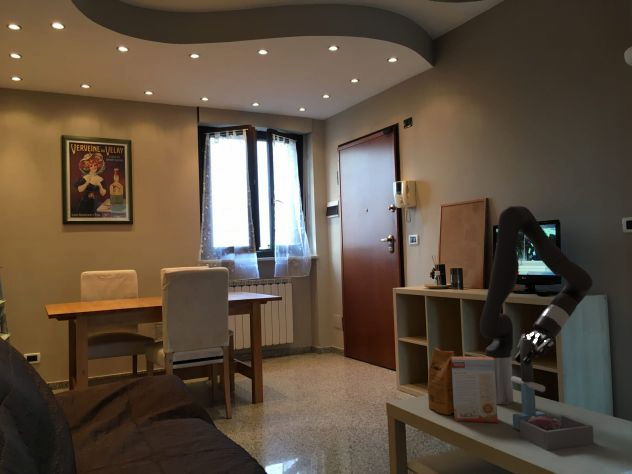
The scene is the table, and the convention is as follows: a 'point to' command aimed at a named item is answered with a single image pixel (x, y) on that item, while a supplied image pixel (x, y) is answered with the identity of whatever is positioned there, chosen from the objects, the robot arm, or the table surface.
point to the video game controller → (545, 422)
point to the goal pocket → (558, 434)
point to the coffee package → (441, 382)
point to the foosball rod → (526, 387)
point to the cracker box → (474, 389)
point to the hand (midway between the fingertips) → (521, 362)
